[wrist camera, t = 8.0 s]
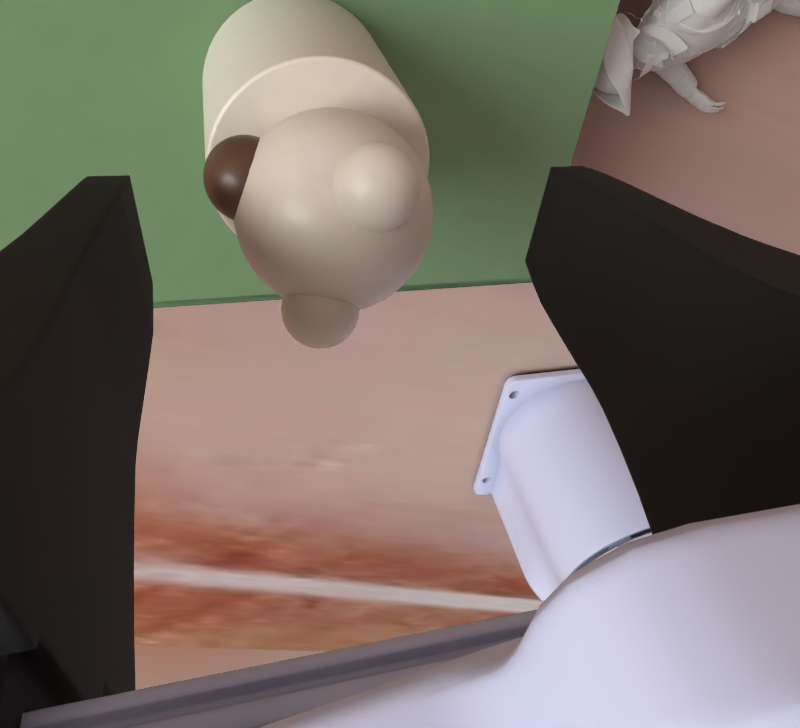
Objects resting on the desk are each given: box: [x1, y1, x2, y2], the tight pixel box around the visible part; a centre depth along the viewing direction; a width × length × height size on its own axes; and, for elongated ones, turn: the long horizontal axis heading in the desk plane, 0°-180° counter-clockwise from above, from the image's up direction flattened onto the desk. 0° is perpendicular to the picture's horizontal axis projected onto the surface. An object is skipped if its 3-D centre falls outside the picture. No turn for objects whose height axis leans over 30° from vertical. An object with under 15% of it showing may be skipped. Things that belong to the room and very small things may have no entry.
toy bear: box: [202, 0, 433, 348], centre depth 12 cm, size 4×4×7 cm
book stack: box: [0, 0, 620, 308], centre depth 16 cm, size 12×16×4 cm
